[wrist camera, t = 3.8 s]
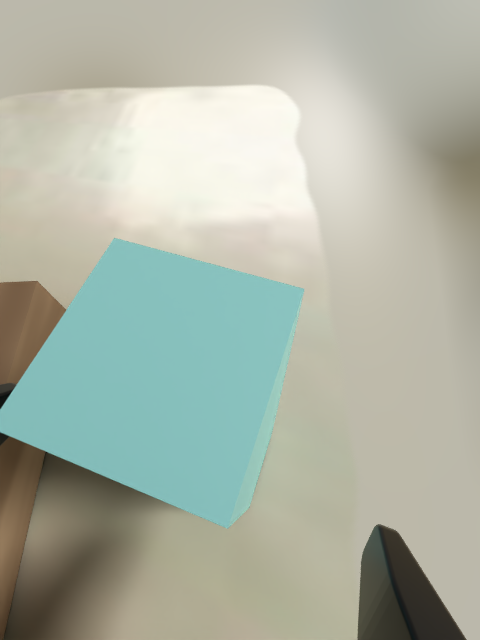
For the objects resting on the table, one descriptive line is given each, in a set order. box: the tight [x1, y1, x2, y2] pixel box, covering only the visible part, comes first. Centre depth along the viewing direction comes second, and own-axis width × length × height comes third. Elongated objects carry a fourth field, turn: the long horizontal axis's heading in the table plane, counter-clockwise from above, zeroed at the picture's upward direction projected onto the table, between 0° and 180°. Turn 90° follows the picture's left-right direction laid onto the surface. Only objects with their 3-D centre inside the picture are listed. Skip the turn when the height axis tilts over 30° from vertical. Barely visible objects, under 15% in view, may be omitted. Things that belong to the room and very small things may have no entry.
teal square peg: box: [0, 238, 304, 529], centre depth 11 cm, size 3×3×13 cm
